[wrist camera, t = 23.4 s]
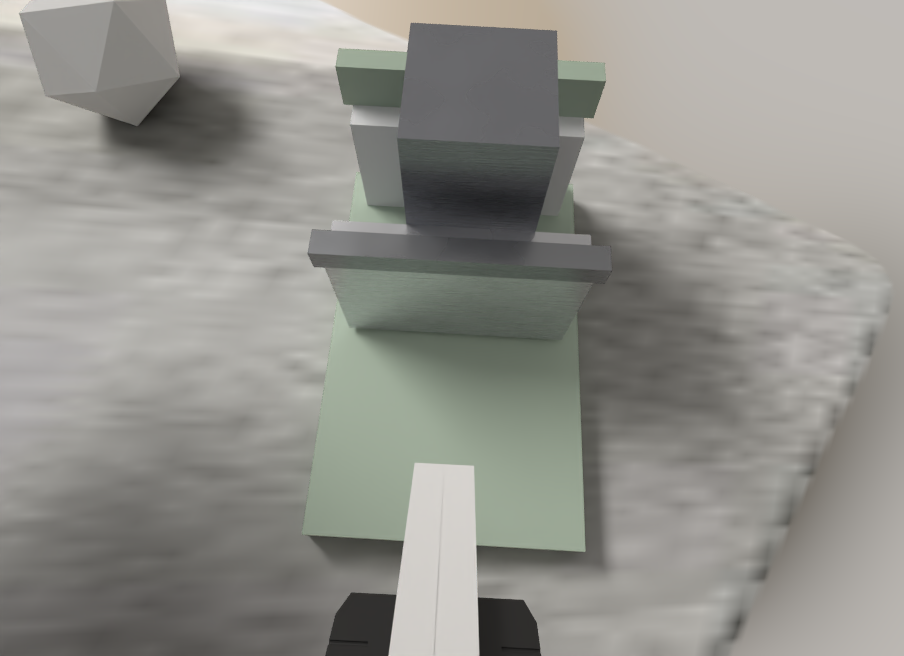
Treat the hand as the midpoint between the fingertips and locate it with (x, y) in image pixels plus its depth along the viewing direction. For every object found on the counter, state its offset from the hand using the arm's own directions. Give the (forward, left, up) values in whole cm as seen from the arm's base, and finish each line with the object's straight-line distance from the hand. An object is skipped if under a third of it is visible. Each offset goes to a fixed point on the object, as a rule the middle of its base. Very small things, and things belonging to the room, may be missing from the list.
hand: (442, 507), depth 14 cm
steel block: (+1, +16, -14) cm, 21 cm away
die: (-24, +28, -16) cm, 40 cm away
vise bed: (0, +10, -16) cm, 19 cm away
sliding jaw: (0, +12, -14) cm, 18 cm away
